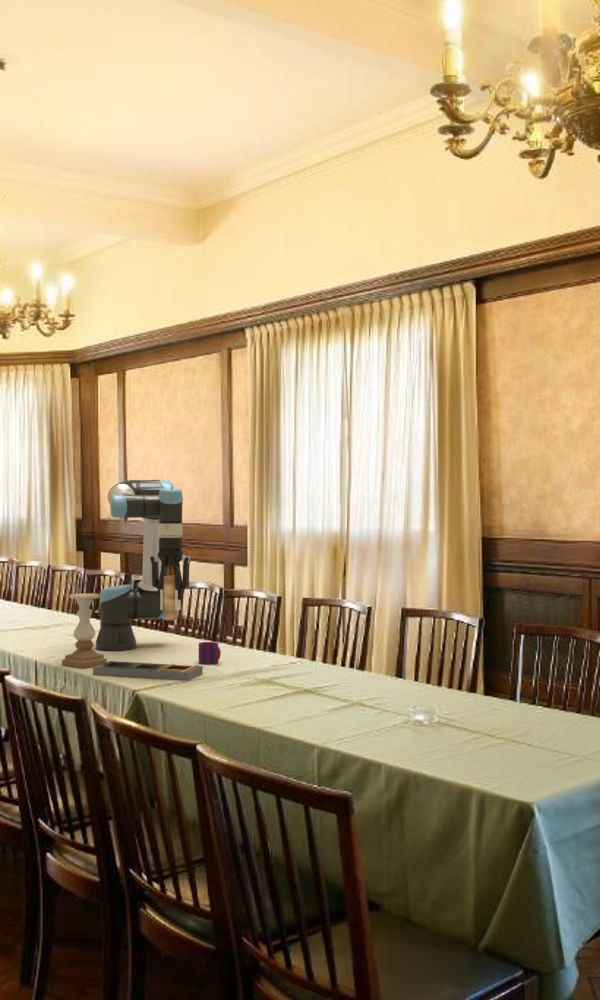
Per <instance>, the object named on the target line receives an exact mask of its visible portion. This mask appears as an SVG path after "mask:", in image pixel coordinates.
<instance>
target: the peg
mask: <svg viewBox="0 0 600 1000" xmlns="http://www.w3.org/2000/svg"><path fill="white" fill-rule="evenodd" d="M175 590H177V584H176V580H175V575H173V574H171V575H170V574H169V575H166V576H164V582H163V618H162V619H163V621H177V620H178V611H175Z"/></svg>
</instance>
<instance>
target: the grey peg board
mask: <svg viewBox="0 0 600 1000" xmlns="http://www.w3.org/2000/svg"><path fill="white" fill-rule="evenodd" d="M203 668H204V667H203V665H202V666H201V665H199V664H195V665H187V664H186V665H185V664H184V665H183V664H176V663H171V664H170V663H169V664H165V663H153V662H152V663H151V662H135V661H134V662H133V661H115V660H109V661H107V662H106V663H103V664H100V665H98V666H95V667H92V675H93V676H101V677H102V676H107V677H121V678H122V677H123V678H137V679H152V678H153V680H171V681H184V680H187V682H188V681H191V680H194V679H196V678H197V677H200V676H201V674H202V675H203V673H204V672H203V670H204V669H203Z"/></svg>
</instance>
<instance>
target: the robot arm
mask: <svg viewBox="0 0 600 1000" xmlns="http://www.w3.org/2000/svg"><path fill="white" fill-rule="evenodd" d="M183 500H184V497H183V490H182V489H180V488H175V487H174V484H173V482H172V481H170V480H164V479H162V480H161V479H129V480H128V479H127V480H124V481H120V482H119V483H116V484H114V485H113V486H112V487H110V489H109V491H108V493H107V501H108V503H109V506H110V507H109V508H110V512H109V513H110V516H111V518H116V519H117V518H118V519H126V518H128V519H131V518H132V519H133V518H136V519H137V518H141V519H142V520H143V540H142V541H143V544H142V545H143V548H142V577H141V580H140V581H139V582H138V583H137V588H133V586H132V584H121V585H120V584H119V585H113V586H108V587H105V588H103V589H102V590H101V591H100V597H99V598H100V599H99V603H100V619H99V620H100V621H99V622H100V623H99V624H100V627H99V631H98V634H97V636H96V639H95V649H96V650H100V651H114V652H117V651H119V652H120V651H129V650H133V649H136V648H137V638H136V636H135V634H134V633H135V632H134V631H133V630H134V629H133V625H132V624H133V620H159V619H160V620H161V619H163V582H164V576H166V575H167V574H168V569H169V567H172V570H173V574H174V575H175V580H176V584H177V590H175V611H177V612H178V611H181V609H182V608H181V607H182V606H181V604H182V603H181V601H182V600H183V599H184V589H187V588H189V587H190V563H191V561H192V557H191V556H187V555H185V554H184V552H183V538H182V536H183V535H184V534H183ZM181 560H182V571H181V564H180V563H181ZM181 572H182V573H181Z"/></svg>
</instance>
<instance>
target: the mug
mask: <svg viewBox="0 0 600 1000" xmlns="http://www.w3.org/2000/svg"><path fill="white" fill-rule="evenodd" d="M221 654H222V653H221V647H219V642H217V641H203V642H202V641H201V642H199V643H198V665H207V666H208V665H217V664H219V660H220V659H221Z"/></svg>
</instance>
